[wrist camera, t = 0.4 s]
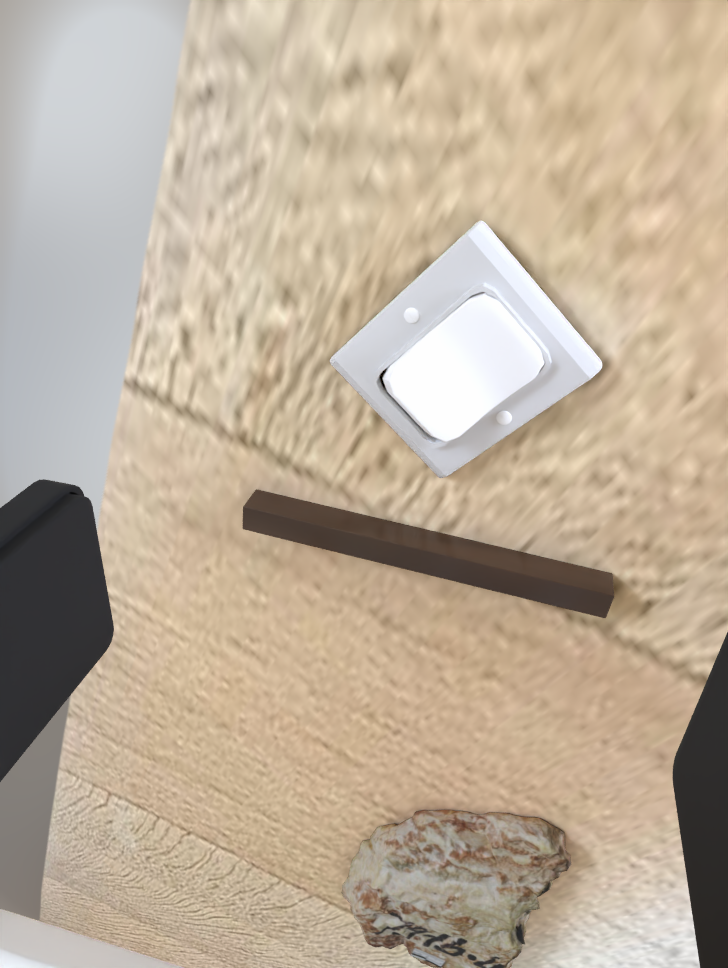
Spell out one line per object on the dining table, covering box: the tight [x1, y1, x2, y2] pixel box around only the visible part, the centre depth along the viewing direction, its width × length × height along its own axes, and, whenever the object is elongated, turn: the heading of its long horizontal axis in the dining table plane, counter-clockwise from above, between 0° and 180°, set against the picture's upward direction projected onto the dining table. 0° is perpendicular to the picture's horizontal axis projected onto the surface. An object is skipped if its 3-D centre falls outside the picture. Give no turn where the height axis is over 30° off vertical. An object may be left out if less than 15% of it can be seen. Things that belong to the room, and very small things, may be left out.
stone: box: [342, 810, 571, 968], centre depth 67 cm, size 19×6×25 cm
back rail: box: [243, 490, 614, 618], centre depth 49 cm, size 2×26×2 cm, turn 84°
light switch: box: [330, 221, 602, 478], centre depth 42 cm, size 11×4×13 cm
